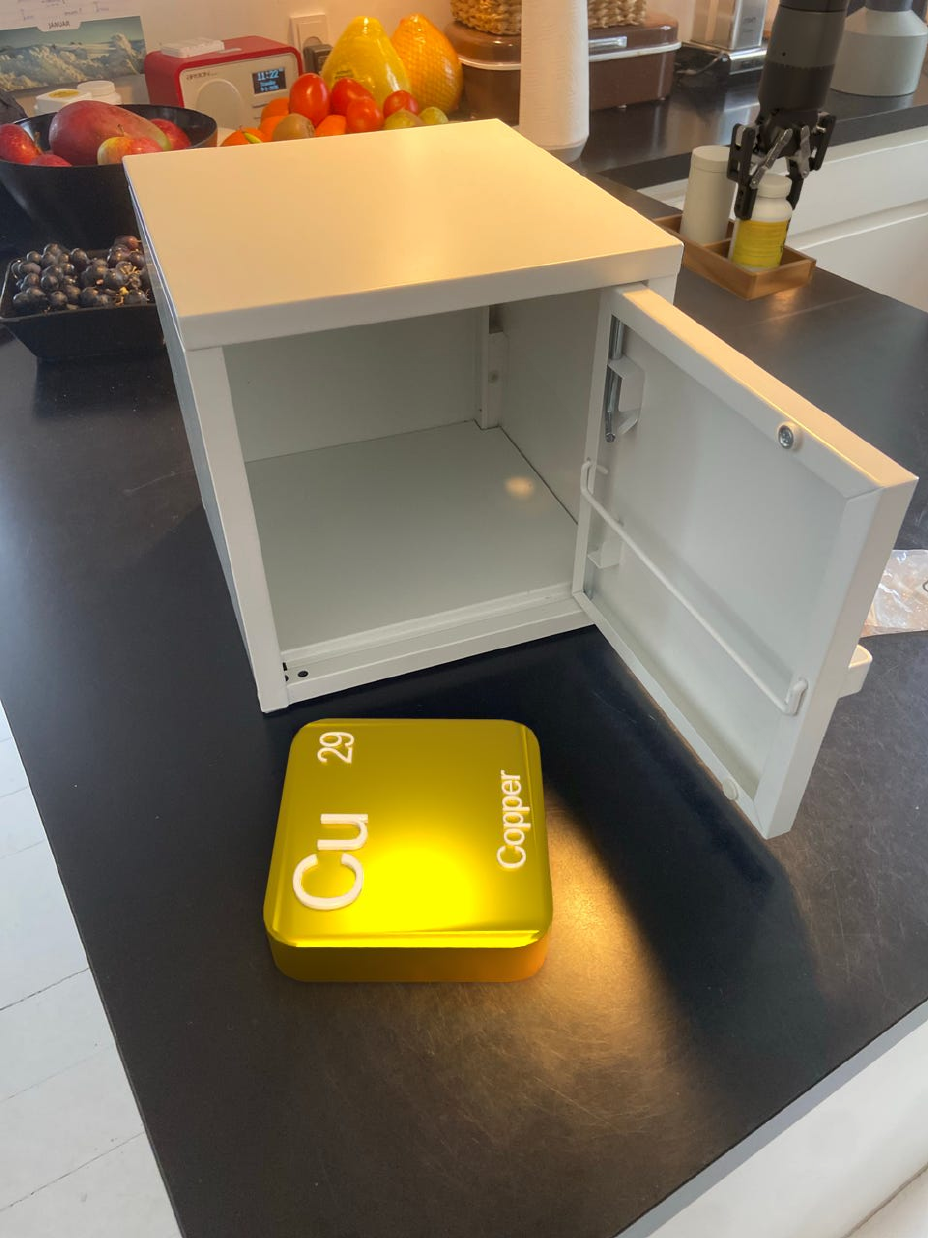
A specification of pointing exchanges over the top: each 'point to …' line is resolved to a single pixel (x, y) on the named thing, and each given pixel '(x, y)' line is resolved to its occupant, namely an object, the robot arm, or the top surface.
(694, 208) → the beige lidded canister
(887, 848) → the top surface
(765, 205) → the pill bottle
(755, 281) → the tray
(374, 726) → the element tile
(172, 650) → the top surface
